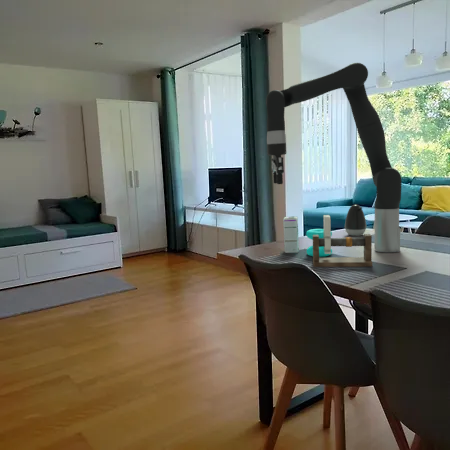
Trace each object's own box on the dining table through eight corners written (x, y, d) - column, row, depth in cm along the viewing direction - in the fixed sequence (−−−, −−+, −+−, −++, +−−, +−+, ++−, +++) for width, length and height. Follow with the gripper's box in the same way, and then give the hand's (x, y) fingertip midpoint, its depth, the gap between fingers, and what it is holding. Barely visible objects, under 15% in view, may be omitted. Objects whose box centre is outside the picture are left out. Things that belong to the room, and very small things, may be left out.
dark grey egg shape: (351, 237, 207) (351, 206, 205) (341, 234, 217) (340, 204, 215) (370, 235, 209) (370, 204, 207) (359, 232, 219) (359, 203, 217)
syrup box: (298, 252, 178) (297, 217, 176) (283, 252, 179) (283, 218, 177) (298, 250, 183) (298, 216, 181) (284, 250, 184) (284, 216, 182)
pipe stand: (368, 261, 158) (368, 232, 156) (372, 266, 150) (372, 236, 149) (312, 261, 161) (312, 233, 160) (313, 266, 153) (313, 237, 152)
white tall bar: (329, 249, 159) (329, 214, 157) (330, 253, 152) (330, 217, 150) (323, 249, 159) (323, 214, 158) (325, 253, 152) (324, 217, 151)
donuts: (332, 228, 174) (331, 232, 165) (332, 252, 176) (331, 257, 166) (307, 228, 177) (305, 232, 168) (307, 252, 178) (305, 257, 169)
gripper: (289, 141, 165) (290, 184, 167) (282, 143, 179) (284, 182, 181) (269, 142, 165) (271, 185, 167) (264, 144, 179) (266, 183, 181)
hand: (278, 183), depth 174 cm, fingers open, 8 cm apart
